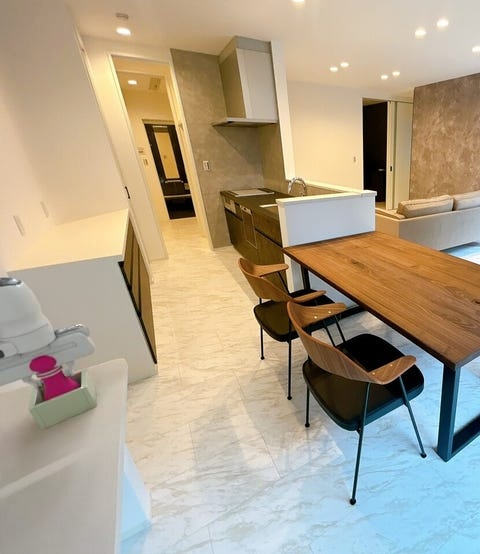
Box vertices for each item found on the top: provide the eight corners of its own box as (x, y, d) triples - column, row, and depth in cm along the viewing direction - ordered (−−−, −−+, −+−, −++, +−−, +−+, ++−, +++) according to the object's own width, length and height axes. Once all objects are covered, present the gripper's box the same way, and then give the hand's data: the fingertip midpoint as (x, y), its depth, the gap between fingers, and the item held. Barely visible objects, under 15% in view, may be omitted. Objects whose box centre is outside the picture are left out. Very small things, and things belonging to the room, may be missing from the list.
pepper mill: (87, 393, 89) (55, 336, 81) (88, 405, 84) (55, 347, 76) (53, 407, 84) (17, 348, 76) (53, 421, 79) (13, 360, 72)
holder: (41, 430, 77) (28, 409, 74) (45, 406, 84) (33, 387, 82) (96, 406, 83) (86, 386, 81) (95, 386, 91) (85, 368, 88)
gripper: (84, 318, 84) (104, 358, 89) (-28, 351, 71) (3, 395, 77) (84, 326, 79) (105, 367, 85) (-35, 362, 67) (-2, 408, 72)
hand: (56, 381), depth 80 cm, fingers closed on pepper mill, 4 cm apart
